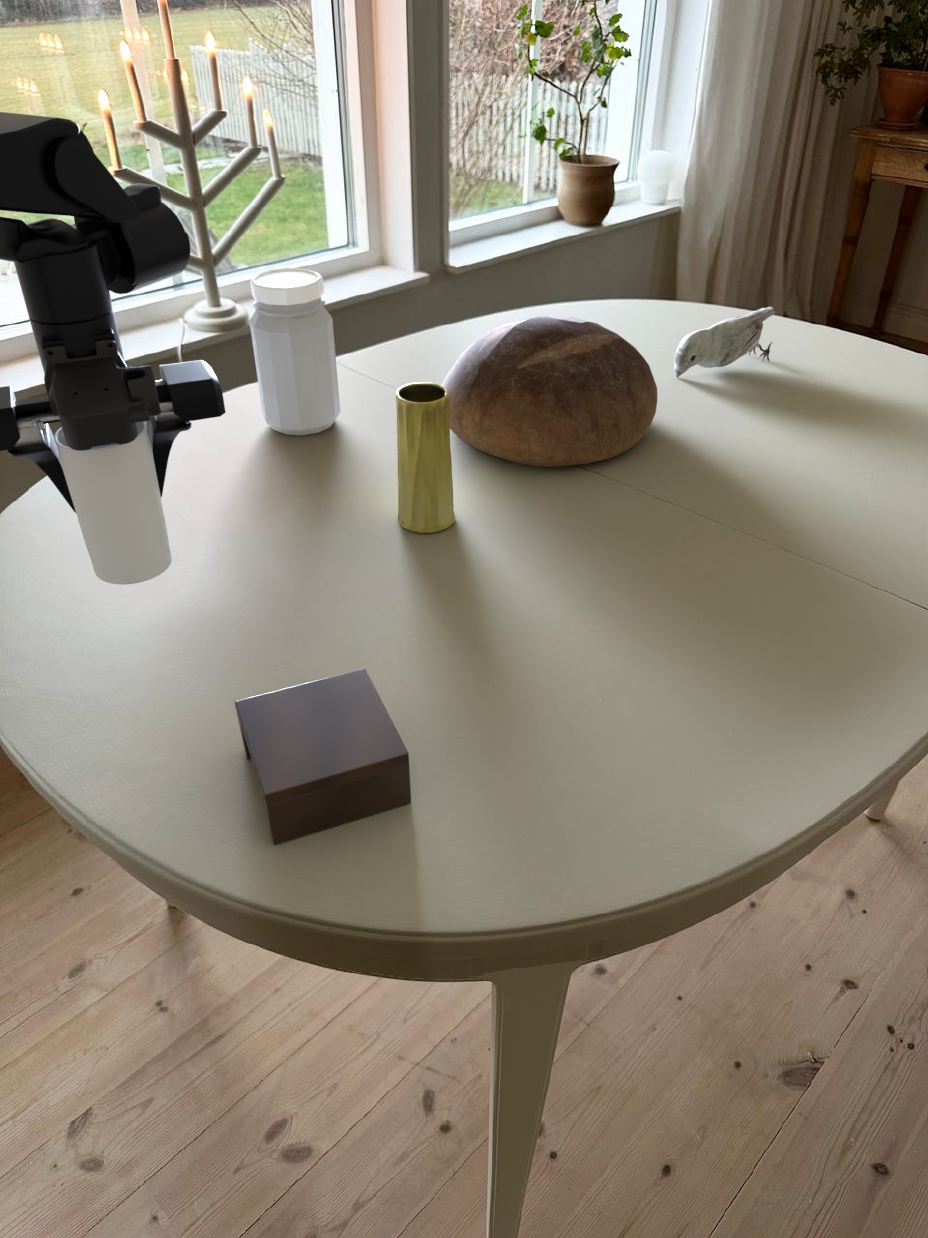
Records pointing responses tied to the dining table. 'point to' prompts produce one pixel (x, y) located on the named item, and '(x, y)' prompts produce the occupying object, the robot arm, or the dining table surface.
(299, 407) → the jar
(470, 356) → the bread
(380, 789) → the wooden box
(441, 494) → the vase
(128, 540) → the mug
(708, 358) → the decorative bird
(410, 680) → the dining table surface
